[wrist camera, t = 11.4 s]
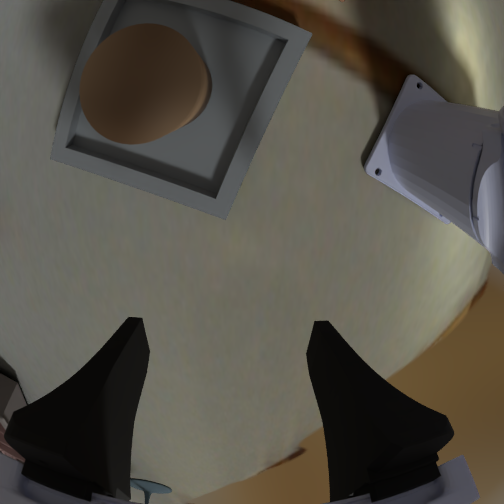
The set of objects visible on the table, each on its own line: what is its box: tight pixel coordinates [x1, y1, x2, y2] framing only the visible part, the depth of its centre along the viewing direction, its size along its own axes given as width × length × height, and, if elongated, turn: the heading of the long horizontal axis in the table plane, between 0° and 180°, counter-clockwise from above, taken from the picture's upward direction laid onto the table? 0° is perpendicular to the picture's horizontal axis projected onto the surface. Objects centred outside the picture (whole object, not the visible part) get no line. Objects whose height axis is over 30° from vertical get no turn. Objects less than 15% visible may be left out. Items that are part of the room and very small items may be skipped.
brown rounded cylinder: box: [79, 23, 212, 145], centre depth 12 cm, size 5×5×6 cm
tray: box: [50, 0, 312, 220], centre depth 14 cm, size 12×12×2 cm
